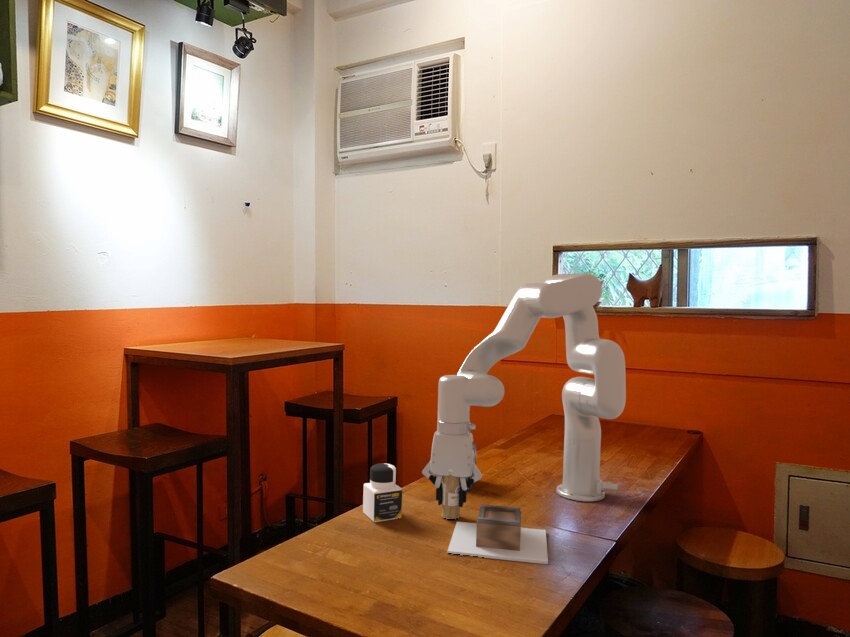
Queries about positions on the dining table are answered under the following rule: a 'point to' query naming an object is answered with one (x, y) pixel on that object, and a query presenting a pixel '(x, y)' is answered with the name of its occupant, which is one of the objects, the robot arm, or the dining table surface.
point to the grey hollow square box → (499, 527)
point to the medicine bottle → (382, 494)
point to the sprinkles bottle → (450, 496)
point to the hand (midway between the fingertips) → (451, 503)
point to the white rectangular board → (530, 549)
